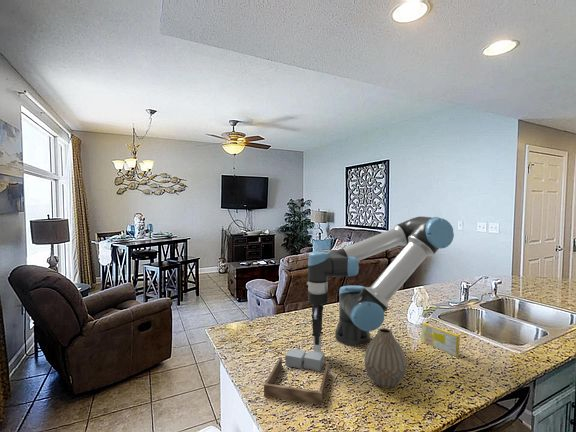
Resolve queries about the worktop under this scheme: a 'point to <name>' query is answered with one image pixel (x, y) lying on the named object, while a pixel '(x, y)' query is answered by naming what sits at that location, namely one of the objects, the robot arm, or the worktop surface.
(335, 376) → the worktop surface
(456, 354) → the candy box
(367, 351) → the vase
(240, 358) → the worktop surface
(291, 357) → the tile
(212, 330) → the worktop surface
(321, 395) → the frame
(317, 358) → the light grey square block
